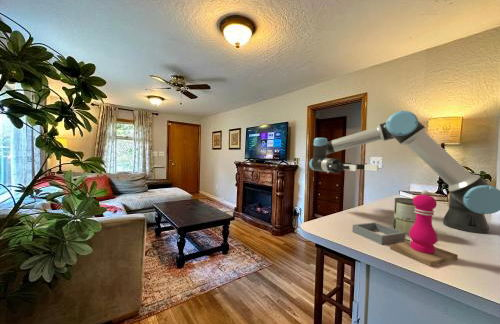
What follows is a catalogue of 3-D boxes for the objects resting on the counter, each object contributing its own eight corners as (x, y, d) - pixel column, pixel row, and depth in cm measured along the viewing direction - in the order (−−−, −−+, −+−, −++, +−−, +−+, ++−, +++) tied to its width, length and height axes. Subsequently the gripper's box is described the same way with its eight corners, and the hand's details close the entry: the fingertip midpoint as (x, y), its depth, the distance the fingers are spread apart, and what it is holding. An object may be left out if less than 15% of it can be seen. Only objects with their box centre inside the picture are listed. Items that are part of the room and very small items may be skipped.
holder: (374, 228, 92) (374, 222, 92) (404, 240, 80) (405, 232, 80) (352, 231, 87) (352, 224, 87) (381, 244, 75) (381, 236, 75)
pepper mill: (433, 248, 70) (436, 189, 69) (439, 256, 64) (442, 192, 63) (407, 243, 74) (409, 187, 73) (410, 250, 67) (412, 190, 67)
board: (415, 243, 77) (415, 239, 77) (457, 259, 66) (457, 254, 65) (390, 248, 72) (390, 244, 72) (430, 266, 61) (430, 261, 60)
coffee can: (387, 227, 94) (389, 197, 94) (411, 228, 93) (413, 198, 93) (402, 236, 84) (404, 202, 84) (429, 237, 83) (431, 203, 83)
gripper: (348, 172, 116) (385, 175, 96) (313, 172, 106) (346, 176, 87) (349, 158, 116) (386, 159, 96) (313, 158, 106) (346, 159, 87)
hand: (367, 168), depth 91 cm, fingers open, 13 cm apart
